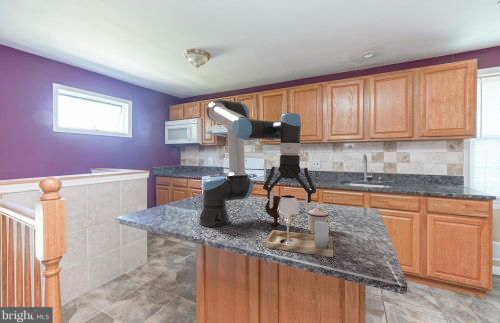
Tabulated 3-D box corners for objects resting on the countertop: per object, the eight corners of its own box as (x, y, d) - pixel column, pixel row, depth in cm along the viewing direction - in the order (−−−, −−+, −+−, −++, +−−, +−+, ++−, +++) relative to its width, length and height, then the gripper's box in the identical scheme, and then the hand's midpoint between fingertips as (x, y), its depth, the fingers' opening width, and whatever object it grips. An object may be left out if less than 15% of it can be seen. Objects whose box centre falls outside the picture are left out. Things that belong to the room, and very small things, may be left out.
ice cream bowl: (290, 225, 111) (291, 195, 111) (277, 230, 103) (278, 198, 103) (273, 220, 119) (274, 192, 118) (260, 225, 111) (260, 195, 110)
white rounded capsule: (313, 248, 81) (314, 224, 81) (314, 243, 86) (314, 220, 85) (328, 250, 79) (328, 225, 79) (328, 245, 84) (328, 221, 84)
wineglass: (298, 247, 82) (299, 199, 81) (276, 245, 83) (276, 198, 83) (298, 239, 90) (298, 195, 89) (278, 237, 91) (278, 194, 91)
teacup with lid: (330, 236, 97) (330, 209, 97) (308, 234, 98) (309, 208, 98) (325, 227, 109) (325, 203, 108) (306, 226, 110) (306, 202, 110)
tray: (264, 250, 82) (264, 242, 82) (272, 236, 96) (272, 229, 96) (333, 260, 75) (333, 251, 75) (332, 244, 88) (332, 237, 88)
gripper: (255, 153, 86) (254, 208, 87) (324, 155, 78) (321, 215, 79) (261, 153, 93) (260, 204, 94) (324, 155, 85) (322, 210, 86)
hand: (288, 209), depth 86 cm, fingers open, 13 cm apart
